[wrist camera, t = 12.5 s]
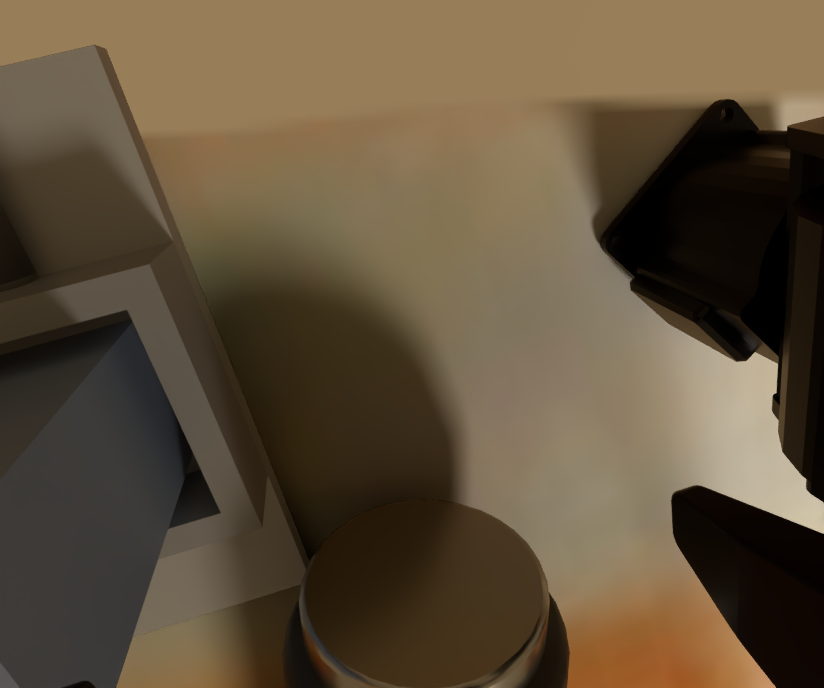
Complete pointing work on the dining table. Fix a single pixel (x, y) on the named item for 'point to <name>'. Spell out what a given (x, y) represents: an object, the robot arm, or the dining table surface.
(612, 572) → the dining table surface
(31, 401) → the orange-capped square pillar
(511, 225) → the dining table surface
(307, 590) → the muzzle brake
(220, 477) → the end holder
